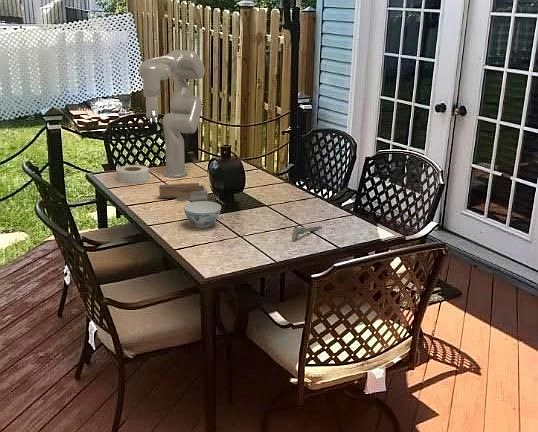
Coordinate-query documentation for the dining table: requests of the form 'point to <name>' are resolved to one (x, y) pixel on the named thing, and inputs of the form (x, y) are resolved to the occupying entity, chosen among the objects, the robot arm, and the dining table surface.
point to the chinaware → (202, 213)
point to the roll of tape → (132, 174)
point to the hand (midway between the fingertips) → (153, 130)
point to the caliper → (302, 231)
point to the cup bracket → (195, 195)
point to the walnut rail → (177, 190)
